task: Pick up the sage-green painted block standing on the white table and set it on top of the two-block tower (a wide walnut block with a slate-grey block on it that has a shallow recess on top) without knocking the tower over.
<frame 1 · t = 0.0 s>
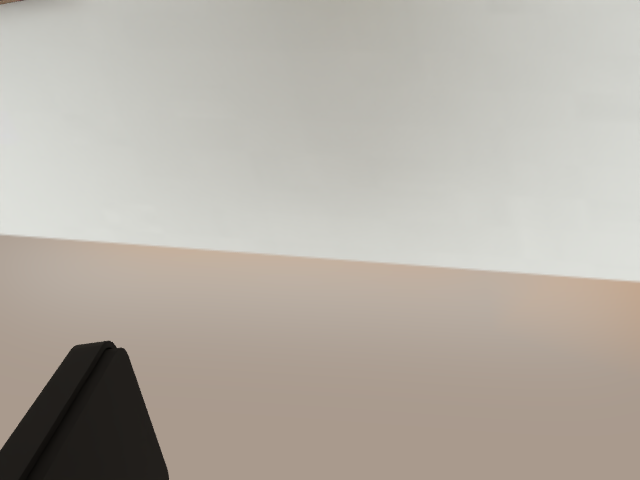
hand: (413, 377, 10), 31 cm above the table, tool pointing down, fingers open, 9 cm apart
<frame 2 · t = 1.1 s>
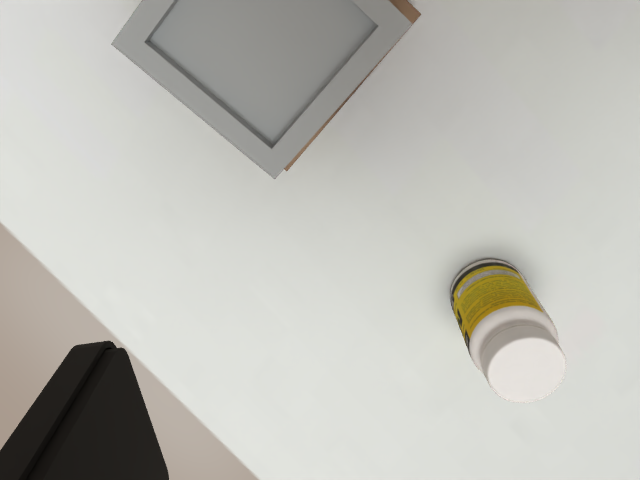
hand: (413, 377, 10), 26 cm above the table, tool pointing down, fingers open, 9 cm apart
walnut block: (277, 22, 32), on the table, touching grey block
grey block: (268, 28, 29), point 4 cm above the table, touching walnut block
supplement bottle: (486, 290, 38), on the table
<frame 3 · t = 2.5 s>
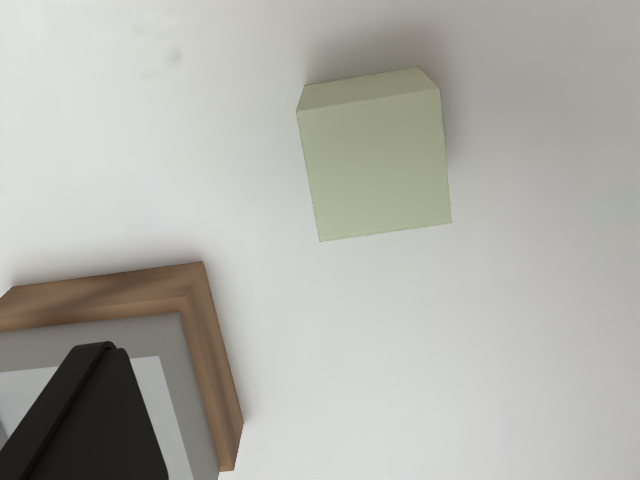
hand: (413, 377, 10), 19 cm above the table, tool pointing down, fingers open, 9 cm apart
walnut block: (135, 353, 33), on the table
sage block: (368, 132, 27), on the table
grey block: (109, 403, 29), point 4 cm above the table
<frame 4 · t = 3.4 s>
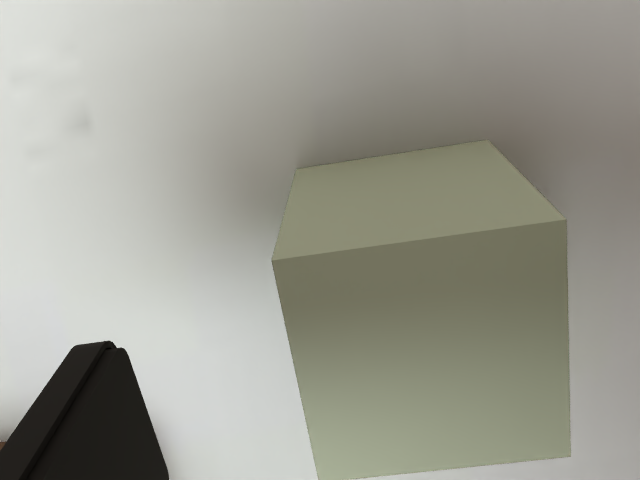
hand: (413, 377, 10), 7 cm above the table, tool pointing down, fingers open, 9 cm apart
sage block: (401, 241, 17), on the table
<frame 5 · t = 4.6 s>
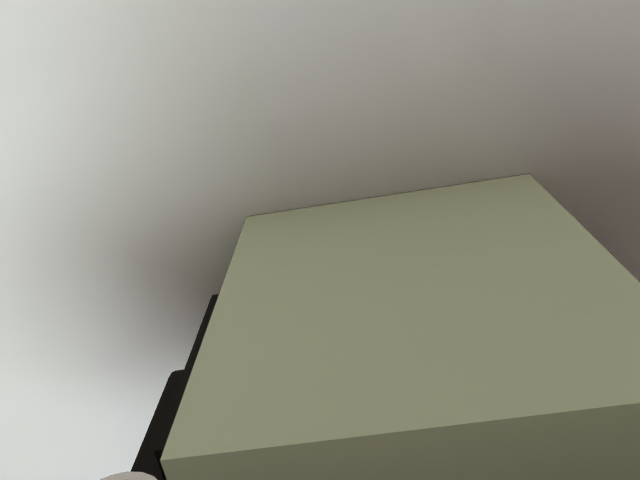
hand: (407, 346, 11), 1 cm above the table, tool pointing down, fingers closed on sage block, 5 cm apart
sage block: (401, 317, 12), on the table, touching gripper
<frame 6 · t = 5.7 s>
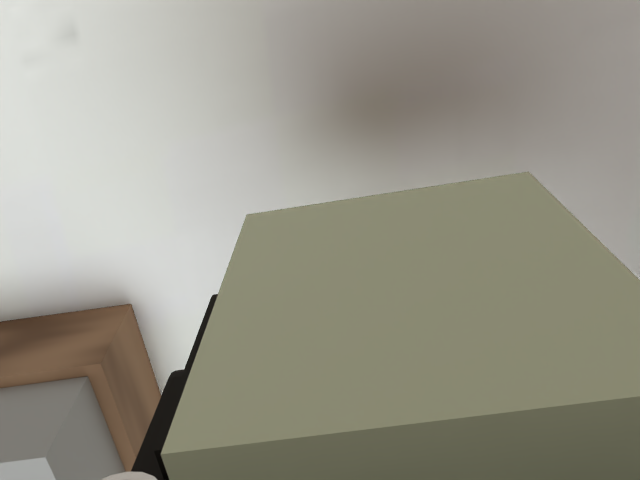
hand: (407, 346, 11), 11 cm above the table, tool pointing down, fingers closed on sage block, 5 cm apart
walnut block: (50, 416, 26), on the table, touching grey block
sage block: (401, 315, 12), point 10 cm above the table, touching gripper
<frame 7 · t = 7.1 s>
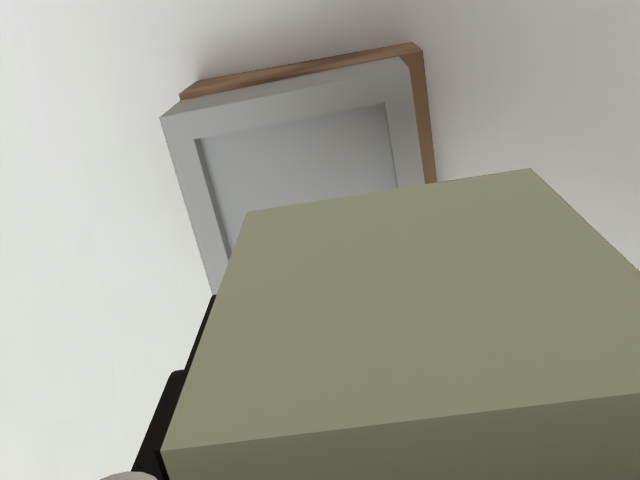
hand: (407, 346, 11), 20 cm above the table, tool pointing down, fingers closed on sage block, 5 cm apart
walnut block: (321, 163, 30), on the table, touching grey block
sage block: (402, 312, 12), point 18 cm above the table, touching gripper
grey block: (310, 183, 26), point 4 cm above the table, touching walnut block
when the fingers open (9 cm above the table, at t = 9.5 s): sage block drops 1 cm, resting on grey block.
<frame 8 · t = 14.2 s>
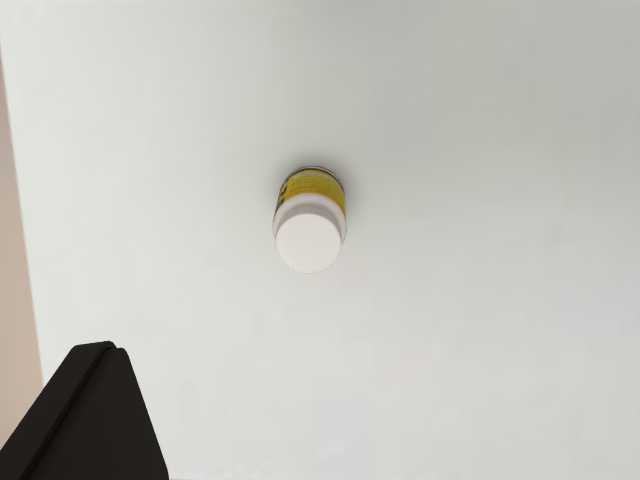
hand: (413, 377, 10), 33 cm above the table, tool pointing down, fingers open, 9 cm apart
supplement bottle: (312, 196, 44), on the table
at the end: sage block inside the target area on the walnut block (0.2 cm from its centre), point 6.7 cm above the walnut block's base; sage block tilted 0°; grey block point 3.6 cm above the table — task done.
